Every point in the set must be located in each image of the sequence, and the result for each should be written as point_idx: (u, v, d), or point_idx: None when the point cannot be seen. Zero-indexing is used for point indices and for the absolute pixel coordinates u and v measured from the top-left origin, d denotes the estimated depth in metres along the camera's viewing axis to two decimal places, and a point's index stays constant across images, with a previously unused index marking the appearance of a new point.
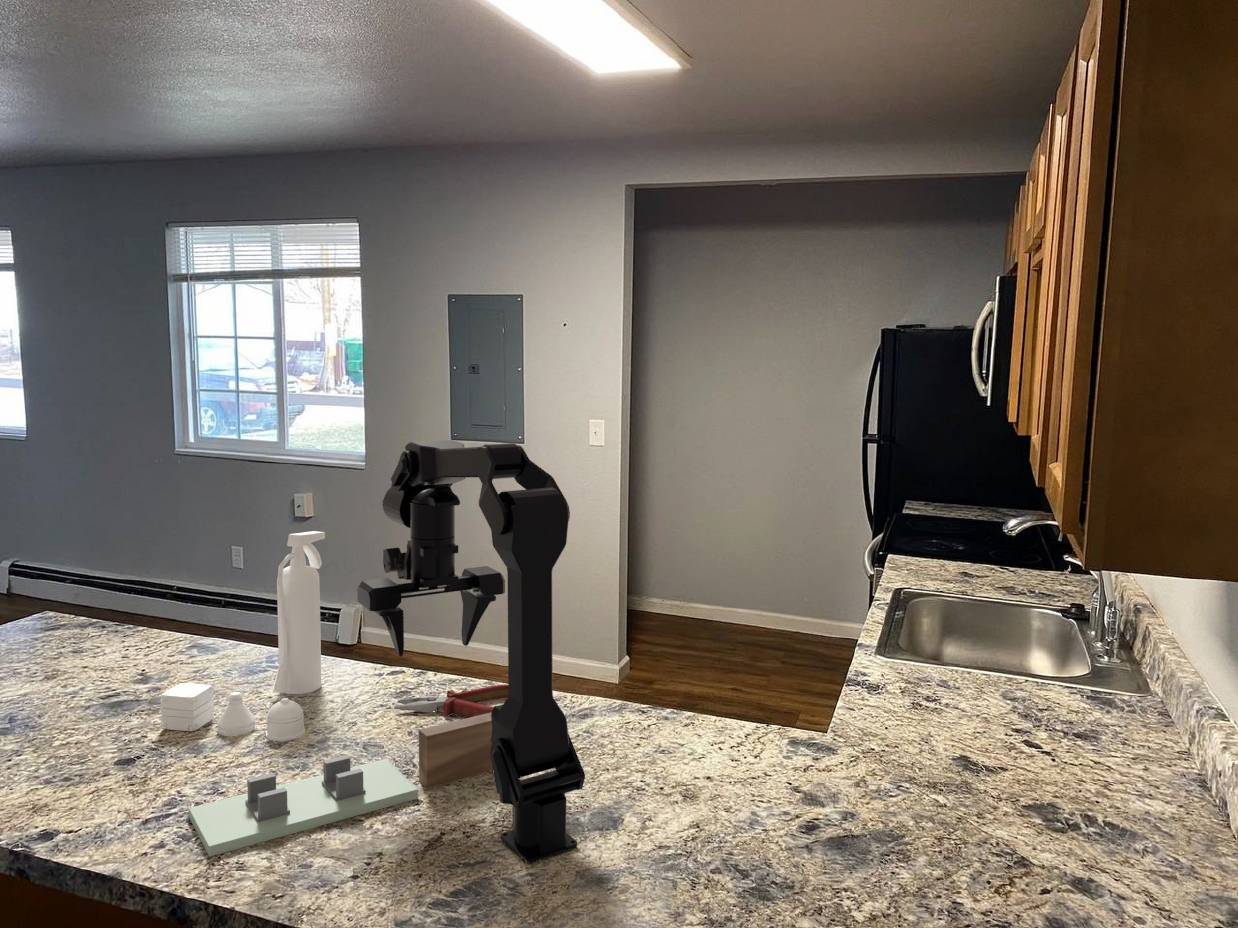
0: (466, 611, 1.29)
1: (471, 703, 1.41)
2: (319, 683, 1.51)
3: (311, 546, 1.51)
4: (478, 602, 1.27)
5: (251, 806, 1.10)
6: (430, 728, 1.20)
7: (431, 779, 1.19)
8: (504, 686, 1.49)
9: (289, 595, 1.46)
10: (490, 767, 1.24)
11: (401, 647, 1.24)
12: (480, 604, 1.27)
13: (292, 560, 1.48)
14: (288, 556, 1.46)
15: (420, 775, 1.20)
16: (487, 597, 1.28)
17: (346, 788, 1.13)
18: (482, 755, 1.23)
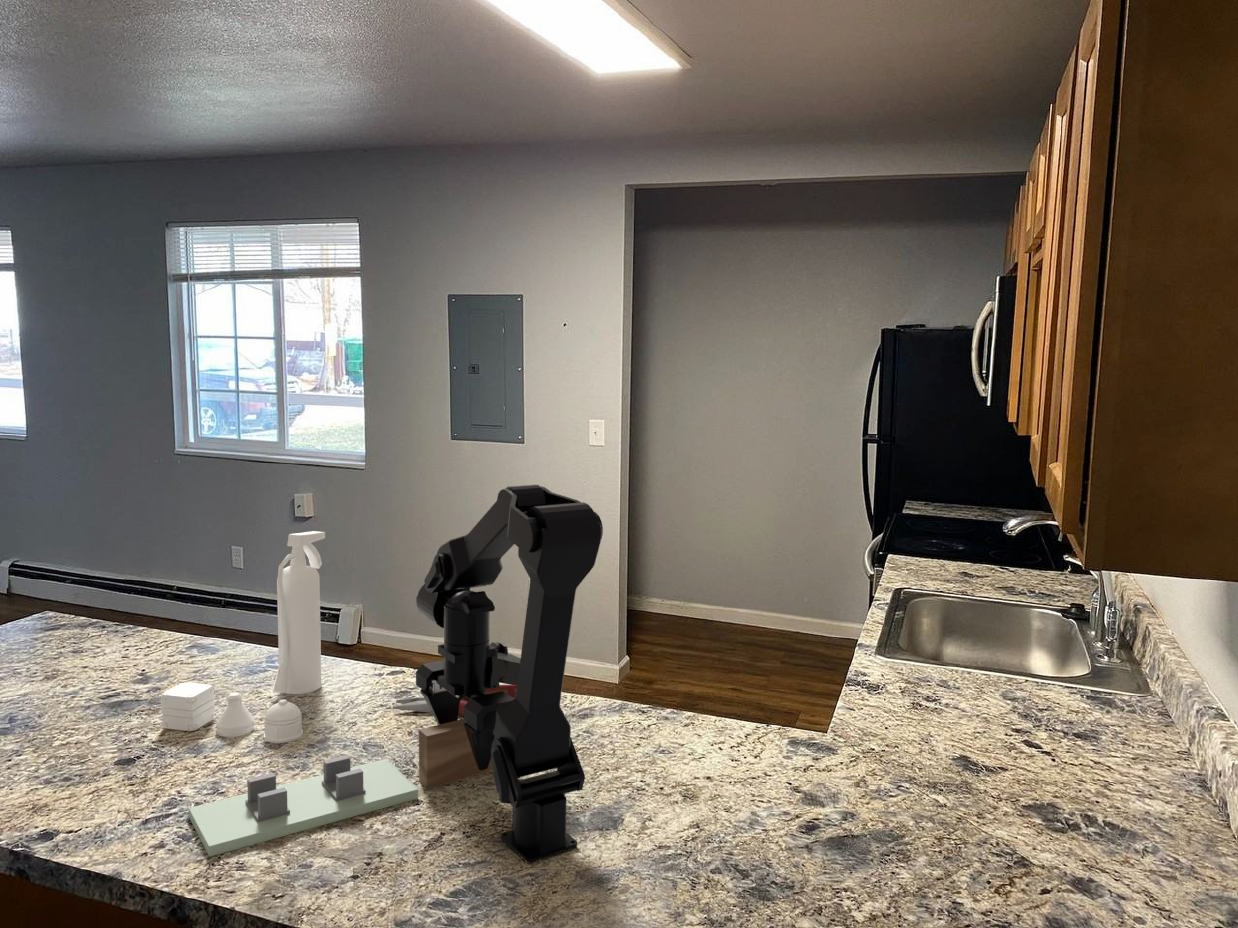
0: None
1: None
2: (319, 683, 1.51)
3: (312, 546, 1.51)
4: (464, 725, 1.16)
5: (251, 806, 1.10)
6: (430, 728, 1.20)
7: (431, 779, 1.19)
8: (503, 686, 1.49)
9: (289, 595, 1.46)
10: (490, 767, 1.24)
11: None
12: (466, 729, 1.16)
13: (292, 560, 1.48)
14: (288, 556, 1.46)
15: (420, 775, 1.20)
16: None
17: (346, 788, 1.13)
18: None
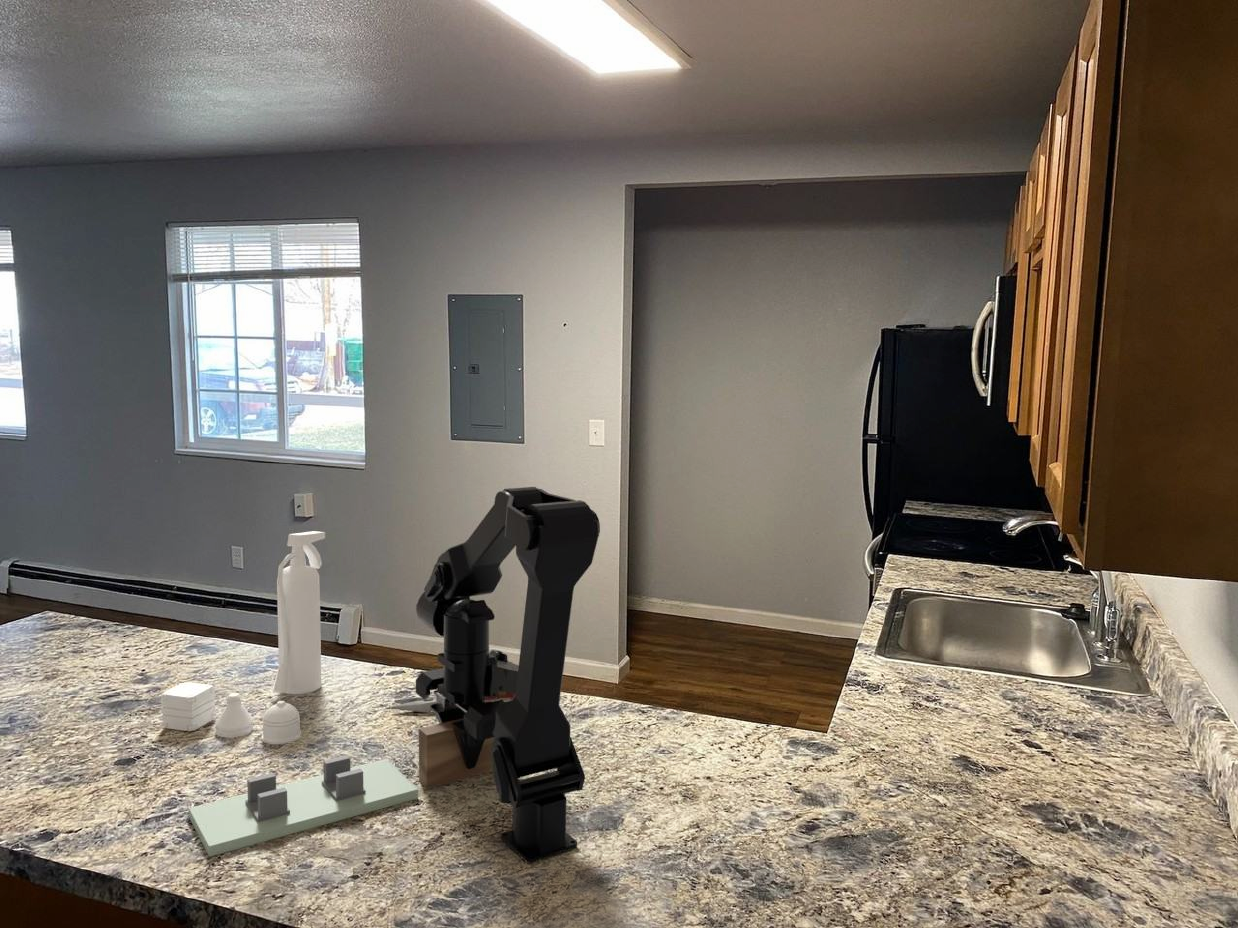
0: None
1: None
2: (319, 683, 1.51)
3: (312, 546, 1.51)
4: (452, 725, 1.19)
5: (251, 806, 1.10)
6: (430, 727, 1.20)
7: (431, 778, 1.19)
8: None
9: (289, 595, 1.46)
10: (490, 766, 1.24)
11: None
12: (454, 728, 1.19)
13: (292, 560, 1.48)
14: (288, 556, 1.46)
15: (420, 774, 1.20)
16: (462, 726, 1.18)
17: (346, 788, 1.13)
18: (482, 754, 1.23)
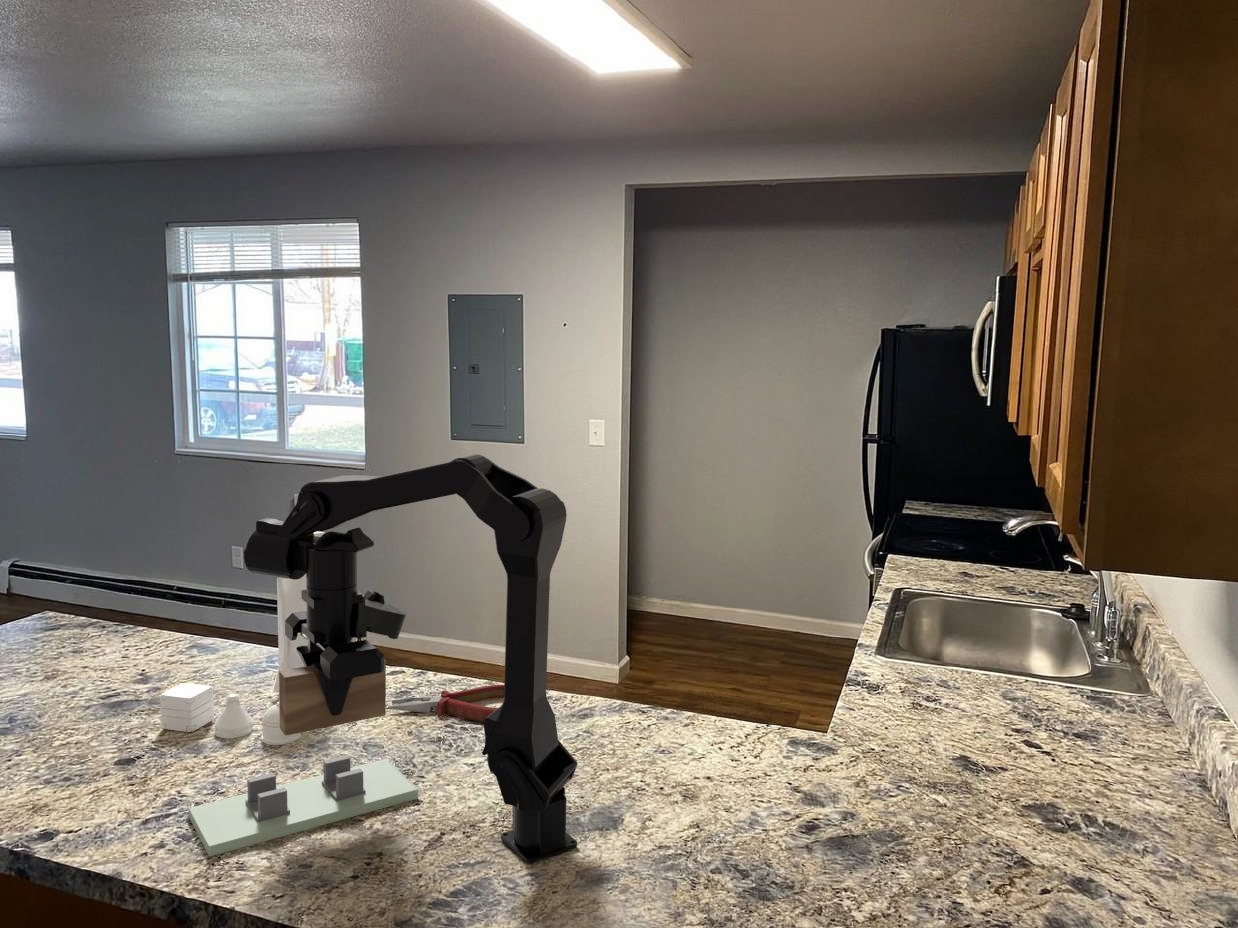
0: None
1: (465, 703, 1.41)
2: None
3: None
4: (312, 666, 1.09)
5: (251, 806, 1.10)
6: (292, 670, 1.11)
7: (290, 725, 1.10)
8: (498, 686, 1.49)
9: (289, 595, 1.46)
10: (360, 715, 1.15)
11: None
12: (314, 670, 1.09)
13: None
14: None
15: (280, 720, 1.11)
16: None
17: (346, 788, 1.13)
18: (350, 702, 1.14)
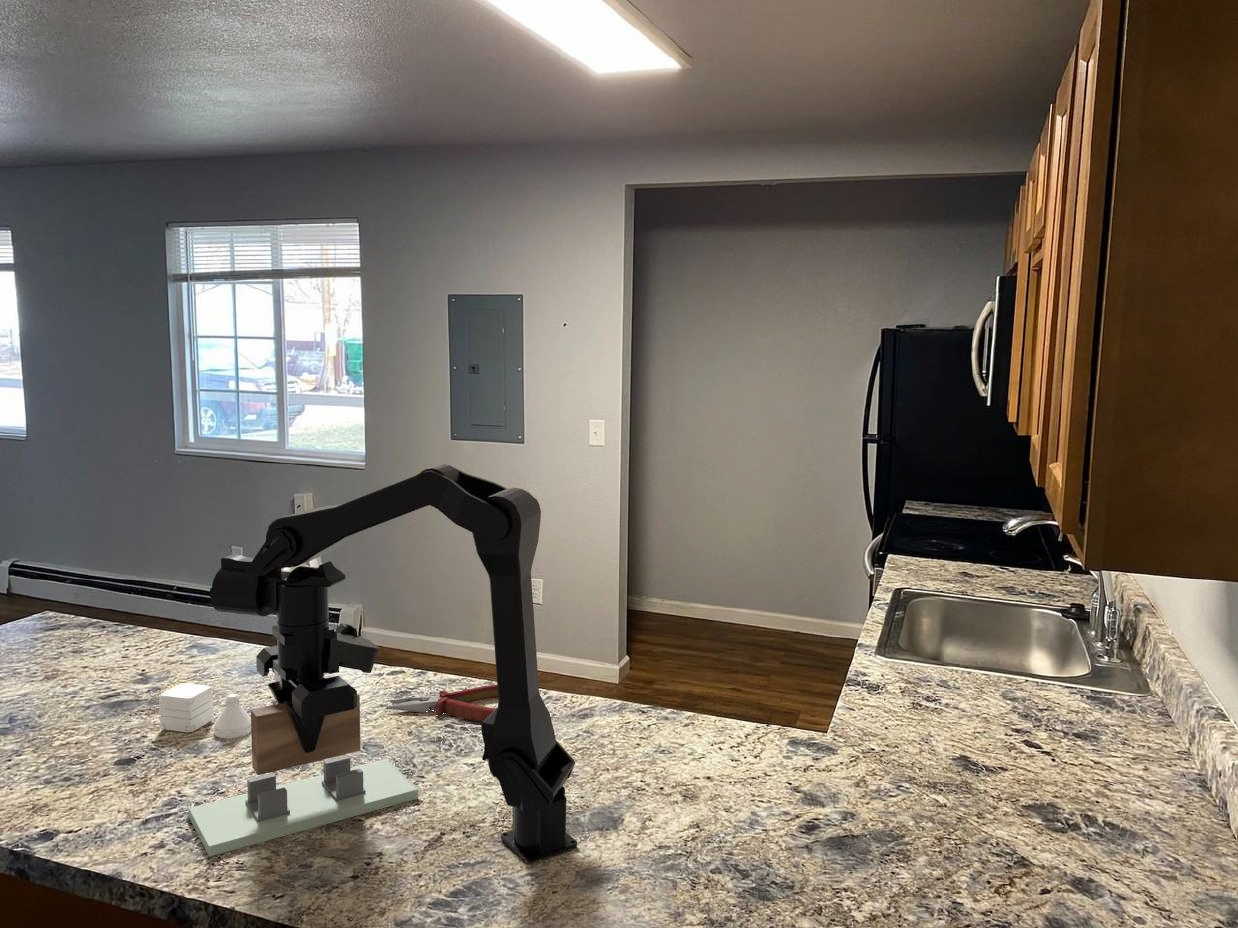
0: None
1: (463, 703, 1.41)
2: None
3: None
4: (284, 704, 1.08)
5: (251, 806, 1.10)
6: (263, 708, 1.09)
7: (262, 764, 1.08)
8: None
9: None
10: (335, 751, 1.13)
11: None
12: (286, 708, 1.08)
13: None
14: None
15: (253, 760, 1.10)
16: None
17: (346, 788, 1.13)
18: (324, 738, 1.12)
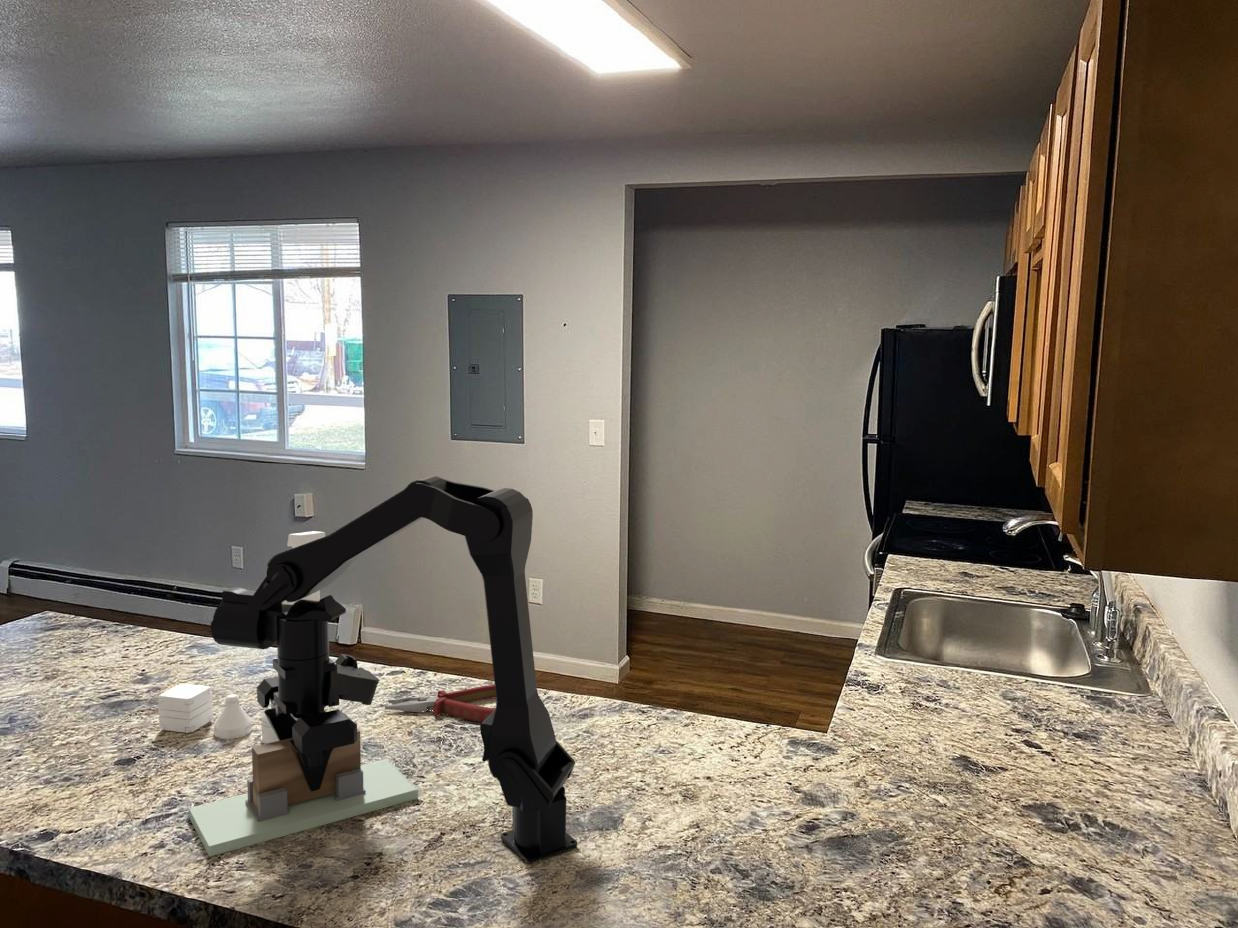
0: None
1: (461, 703, 1.41)
2: None
3: None
4: None
5: (251, 806, 1.10)
6: (265, 745, 1.10)
7: None
8: None
9: None
10: (335, 787, 1.14)
11: None
12: (292, 747, 1.07)
13: None
14: None
15: (254, 796, 1.10)
16: None
17: (346, 788, 1.13)
18: (325, 775, 1.13)
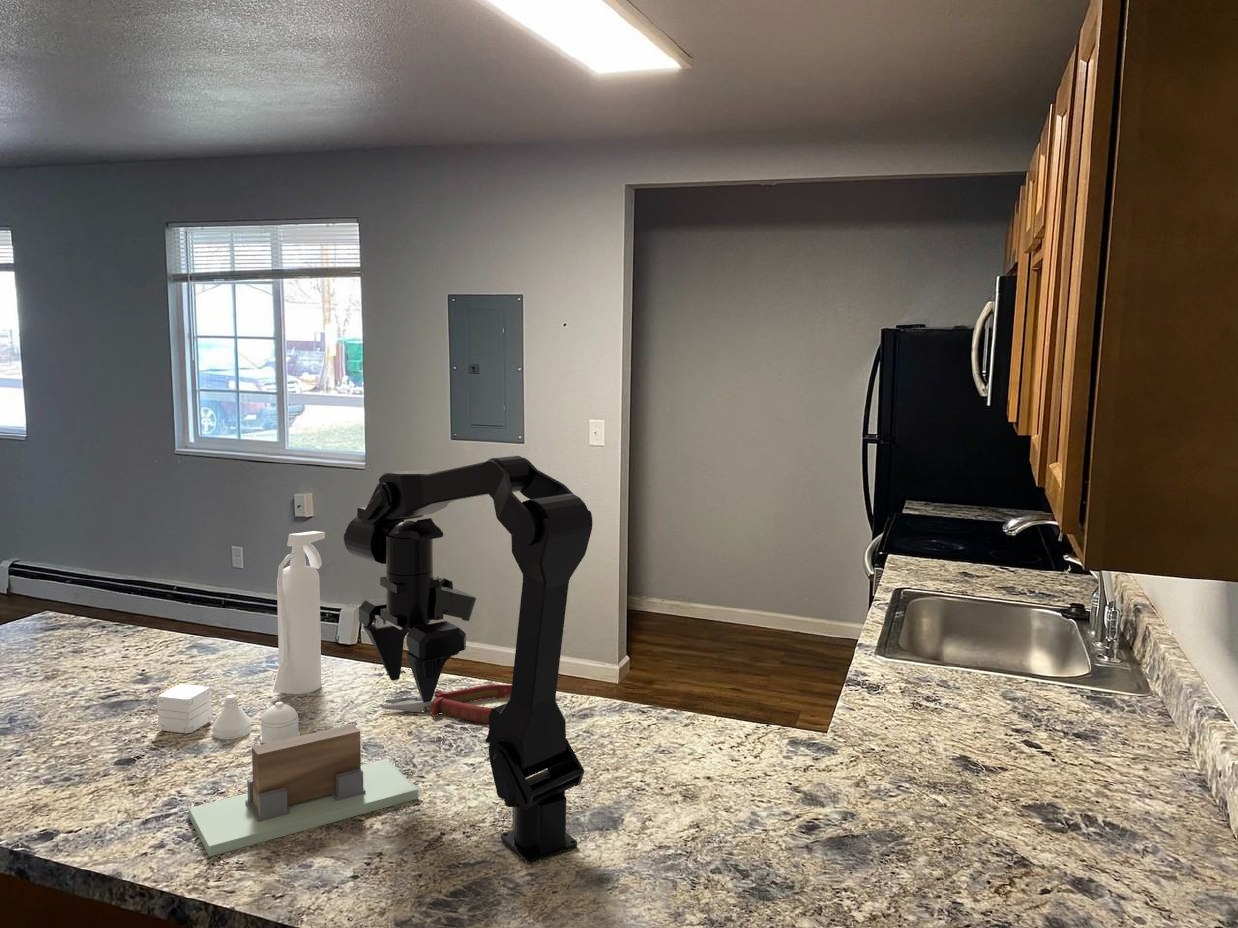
0: None
1: (459, 703, 1.41)
2: (319, 683, 1.51)
3: (312, 546, 1.51)
4: (407, 655, 1.14)
5: (251, 806, 1.10)
6: (265, 745, 1.10)
7: None
8: (492, 686, 1.49)
9: (289, 595, 1.46)
10: (335, 787, 1.14)
11: (386, 670, 1.23)
12: (409, 659, 1.14)
13: (292, 560, 1.48)
14: (288, 556, 1.46)
15: (254, 796, 1.10)
16: None
17: (346, 788, 1.13)
18: (325, 775, 1.13)
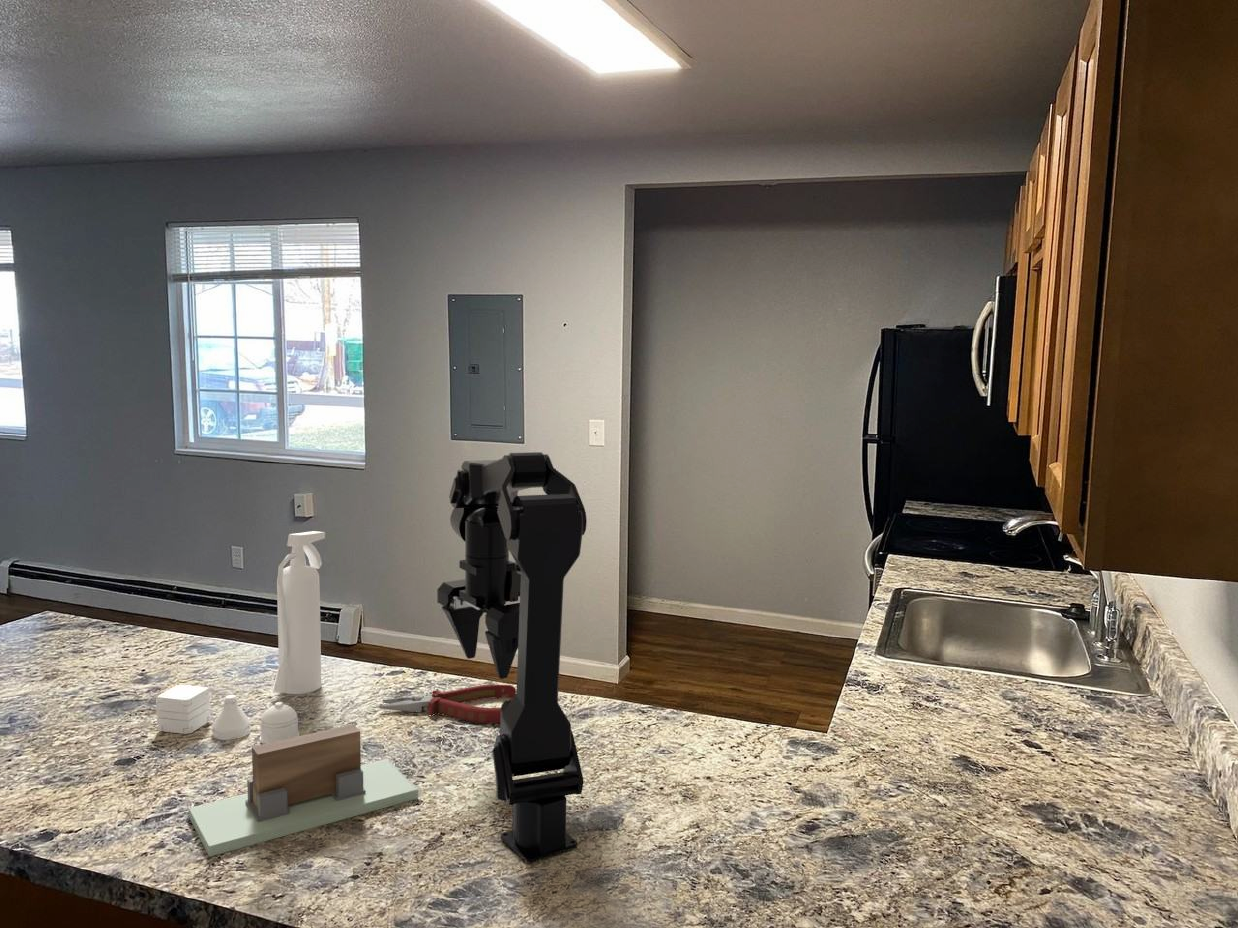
0: None
1: (456, 703, 1.41)
2: (319, 683, 1.51)
3: (311, 546, 1.51)
4: (485, 633, 1.21)
5: (251, 806, 1.10)
6: (265, 745, 1.10)
7: None
8: (490, 686, 1.49)
9: (289, 595, 1.46)
10: (335, 787, 1.14)
11: (463, 648, 1.31)
12: (487, 637, 1.21)
13: (292, 560, 1.48)
14: (288, 556, 1.46)
15: (254, 796, 1.10)
16: (495, 634, 1.20)
17: (346, 788, 1.13)
18: (325, 775, 1.13)
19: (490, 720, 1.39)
